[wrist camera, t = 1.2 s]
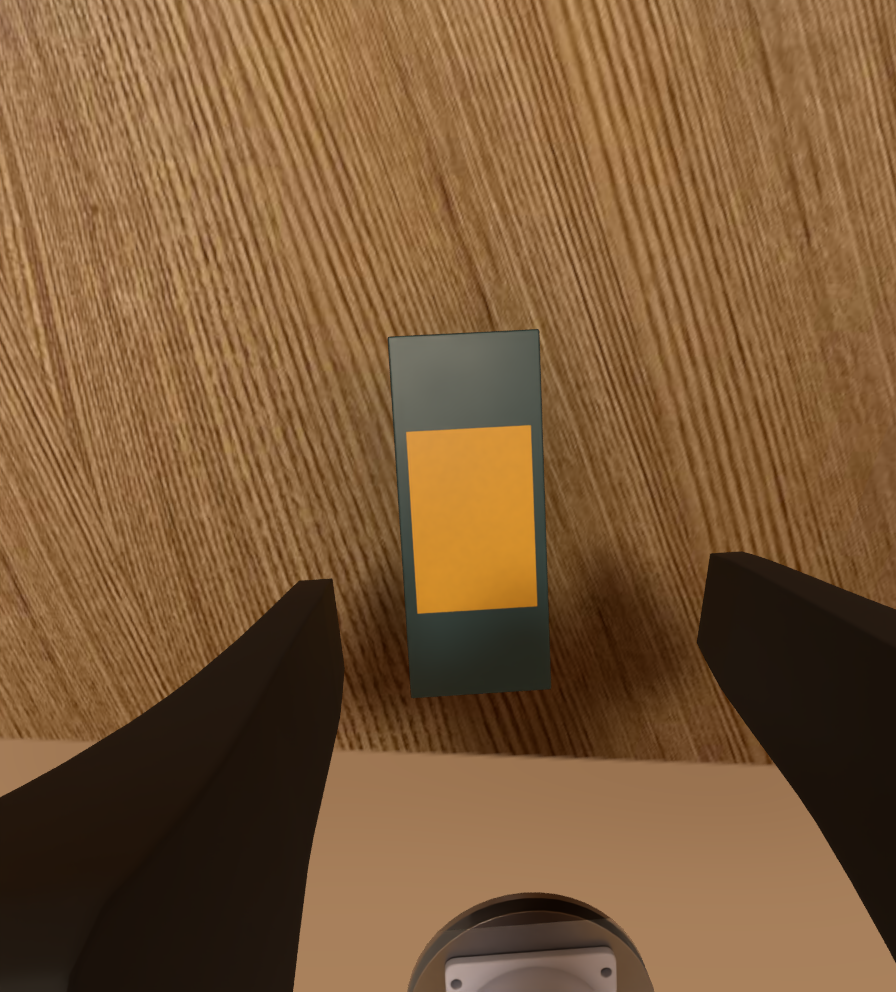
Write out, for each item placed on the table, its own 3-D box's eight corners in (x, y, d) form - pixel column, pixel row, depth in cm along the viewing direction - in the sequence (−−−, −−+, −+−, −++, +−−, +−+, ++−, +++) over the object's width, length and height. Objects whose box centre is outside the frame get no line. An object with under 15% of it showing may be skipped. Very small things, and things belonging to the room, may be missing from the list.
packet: (530, 644, 23) (552, 691, 19) (414, 652, 23) (410, 700, 19) (519, 347, 22) (540, 328, 17) (395, 353, 21) (387, 336, 17)
